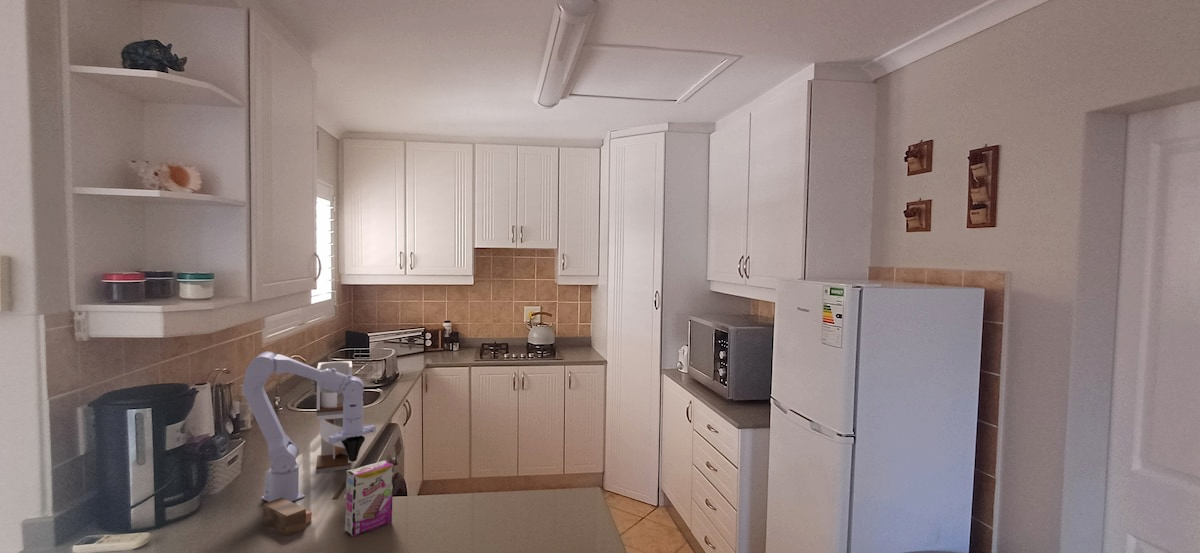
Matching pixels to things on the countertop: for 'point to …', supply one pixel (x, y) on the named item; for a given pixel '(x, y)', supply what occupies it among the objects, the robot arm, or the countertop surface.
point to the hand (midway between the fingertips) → (352, 460)
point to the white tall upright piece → (331, 422)
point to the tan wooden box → (284, 516)
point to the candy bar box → (368, 497)
